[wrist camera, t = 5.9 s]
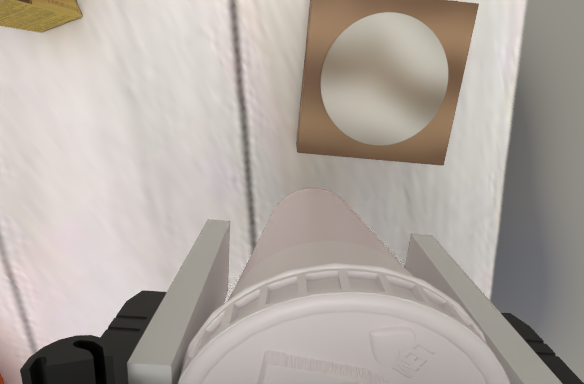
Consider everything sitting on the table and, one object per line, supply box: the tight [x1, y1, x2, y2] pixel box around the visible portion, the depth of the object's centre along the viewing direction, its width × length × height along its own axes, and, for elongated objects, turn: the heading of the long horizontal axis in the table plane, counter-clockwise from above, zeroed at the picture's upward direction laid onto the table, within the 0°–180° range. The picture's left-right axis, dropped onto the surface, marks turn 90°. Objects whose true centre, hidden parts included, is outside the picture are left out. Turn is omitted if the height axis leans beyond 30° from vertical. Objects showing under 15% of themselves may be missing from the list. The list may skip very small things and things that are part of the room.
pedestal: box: [296, 0, 479, 165], centre depth 30 cm, size 12×12×4 cm
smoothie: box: [178, 188, 510, 384], centre depth 9 cm, size 6×6×14 cm
